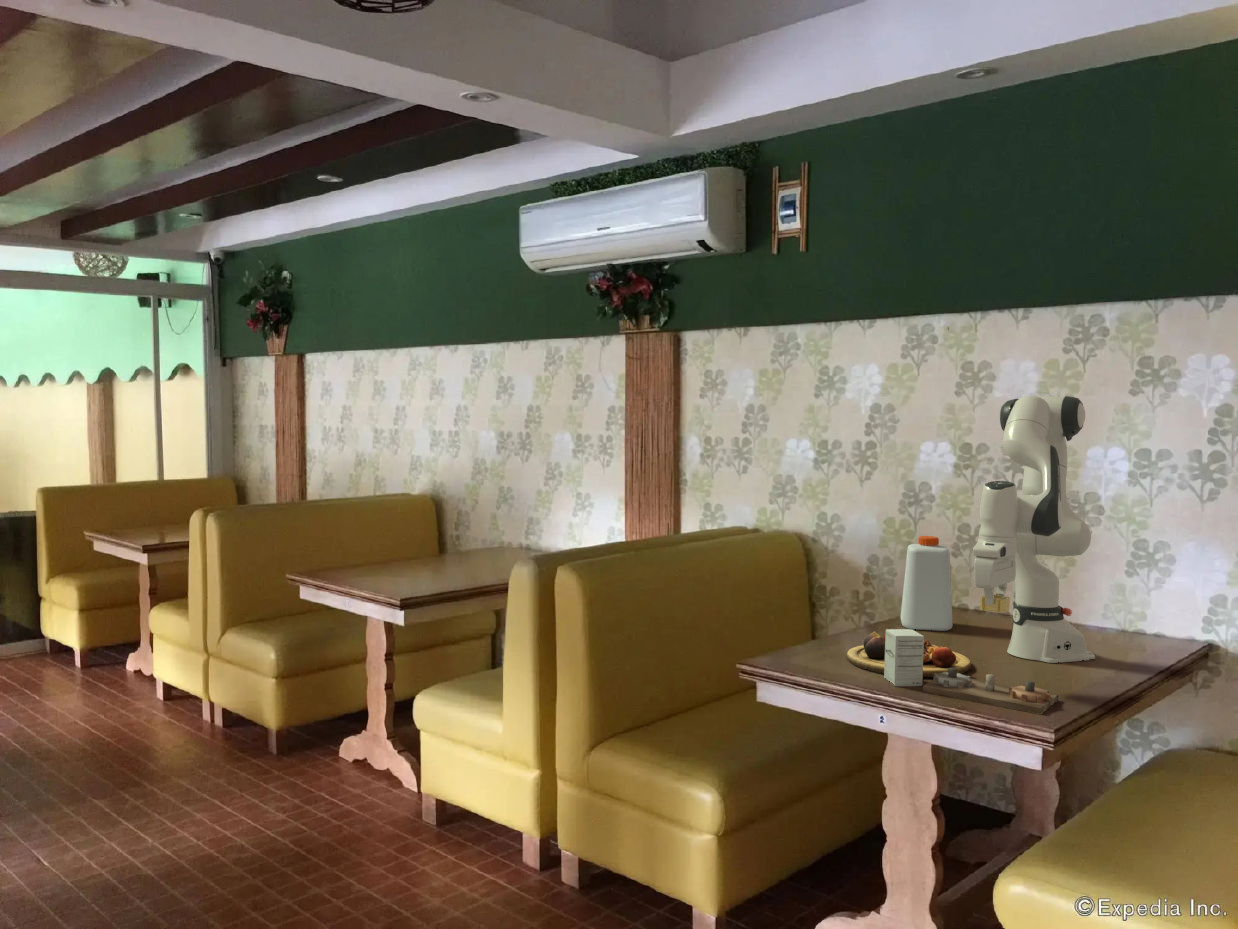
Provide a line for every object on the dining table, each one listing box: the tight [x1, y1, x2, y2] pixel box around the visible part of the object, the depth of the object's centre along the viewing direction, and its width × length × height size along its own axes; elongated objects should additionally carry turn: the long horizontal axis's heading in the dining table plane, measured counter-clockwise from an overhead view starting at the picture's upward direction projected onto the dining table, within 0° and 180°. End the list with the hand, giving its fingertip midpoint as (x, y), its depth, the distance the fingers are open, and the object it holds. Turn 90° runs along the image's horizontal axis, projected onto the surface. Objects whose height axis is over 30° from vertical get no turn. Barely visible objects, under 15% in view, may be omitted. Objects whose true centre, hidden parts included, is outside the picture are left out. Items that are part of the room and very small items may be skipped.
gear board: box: [922, 668, 1059, 715], centre depth 235 cm, size 14×27×5 cm, turn 52°
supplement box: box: [883, 628, 925, 687], centre depth 246 cm, size 7×7×13 cm
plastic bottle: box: [900, 535, 953, 632], centre depth 310 cm, size 15×15×28 cm
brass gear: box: [979, 594, 1011, 614], centre depth 245 cm, size 6×6×3 cm
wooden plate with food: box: [846, 631, 972, 678], centre depth 265 cm, size 32×32×8 cm
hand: (994, 603), depth 245 cm, fingers closed on brass gear, 6 cm apart
